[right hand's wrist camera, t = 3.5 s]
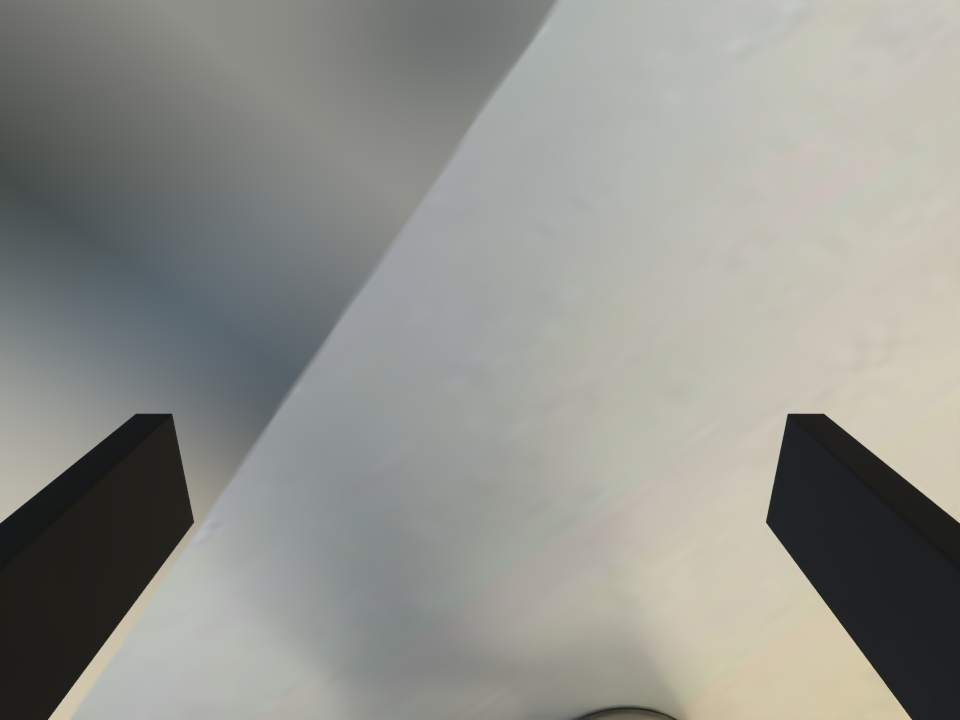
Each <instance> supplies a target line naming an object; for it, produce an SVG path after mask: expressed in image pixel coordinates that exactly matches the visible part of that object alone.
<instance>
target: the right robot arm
mask: <svg viewBox="0 0 960 720" xmlns="http://www.w3.org/2000/svg"><path fill="white" fill-rule="evenodd" d="M193 523H194V520H193V515H192V510H191V505H190V500H189V495H188V490H187V485H186V480H185V475H184V470H183V465H182V460H181V455H180V451H179V446H178V441H177V436H176V431H175V426H174V421H173V416H172V414H135V415H134V416H133V417H132V418H130V419H129V420H128V421H127V422H125V423H124V424H123V425H122V426H120V427H119V428H118V429H117V430H115V431H114V432H113V433H112V434H110V435H109V436H108V437H107V438H106V439H104V440H103V441H102V442H101V443H99V444H98V445H97V446H96V447H94V448H93V449H92V450H91V451H89V452H88V453H87V454H86V455H84V456H83V457H82V458H81V459H79V460H78V461H77V462H76V463H75V464H73V465H72V466H71V467H70V468H68V469H67V470H66V471H65V472H63V473H62V474H61V475H60V476H58V477H57V478H56V479H55V480H53V481H52V482H51V483H50V484H49V485H47V486H46V487H45V488H44V489H42V490H41V491H40V492H39V493H37V494H36V495H35V496H34V497H32V498H31V499H30V500H29V501H27V502H26V503H25V504H24V505H22V506H21V507H20V508H19V509H18V510H16V511H15V512H14V513H13V514H11V515H10V516H9V517H8V518H6V519H5V520H4V521H3V522H1V523H0V720H48V719H49V718H50V716H51V715H52V713H53V712H54V711H55V709H56V708H57V707H58V705H59V704H60V703H61V701H62V700H63V699H64V697H65V696H66V695H67V693H68V692H69V690H70V689H71V688H72V686H73V685H74V684H75V682H76V681H77V680H78V678H79V677H80V676H81V674H82V673H83V672H84V670H85V669H86V668H87V666H88V665H89V663H90V662H91V661H92V659H93V658H94V657H95V655H96V654H97V653H98V651H99V650H100V649H101V647H102V646H103V645H104V643H105V642H106V641H107V639H108V638H109V637H110V635H111V634H112V632H113V631H114V630H115V628H116V627H117V626H118V624H119V623H120V622H121V620H122V619H123V618H124V616H125V615H126V614H127V612H128V611H129V610H130V608H131V607H132V605H133V604H134V603H135V601H136V600H137V599H138V597H139V596H140V595H141V593H142V592H143V591H144V589H145V588H146V586H147V585H148V584H149V582H150V581H151V580H152V578H153V577H154V576H155V574H156V573H157V572H158V570H159V569H160V568H161V566H162V565H163V564H164V562H165V561H166V559H167V558H168V557H169V555H170V554H171V553H172V551H173V550H174V549H175V547H176V546H177V545H178V543H179V542H180V541H181V539H182V538H183V537H184V535H185V534H186V532H187V531H188V530H189V528H190V527H191V526H192V524H193ZM766 523H767V524H768V526H769V527H770V528H771V530H772V531H773V533H774V534H775V535H776V537H777V538H778V539H779V541H780V542H781V543H782V545H783V546H784V547H785V549H786V550H787V551H788V553H789V554H790V555H791V557H792V558H793V560H794V561H795V562H796V564H797V565H798V566H799V568H800V569H801V570H802V572H803V573H804V574H805V576H806V577H807V578H808V580H809V581H810V583H811V584H812V585H813V587H814V588H815V589H816V591H817V592H818V593H819V595H820V596H821V597H822V599H823V600H824V601H825V603H826V604H827V605H828V607H829V608H830V610H831V611H832V612H833V614H834V615H835V616H836V618H837V619H838V620H839V622H840V623H841V624H842V626H843V627H844V628H845V630H846V631H847V632H848V634H849V635H850V637H851V638H852V639H853V641H854V642H855V643H856V645H857V646H858V647H859V649H860V650H861V651H862V653H863V654H864V655H865V657H866V658H867V659H868V661H869V662H870V664H871V665H872V666H873V668H874V669H875V670H876V672H877V673H878V674H879V676H880V677H881V678H882V680H883V681H884V682H885V684H886V685H887V686H888V688H889V689H890V691H891V692H892V693H893V695H894V696H895V697H896V699H897V700H898V701H899V703H900V704H901V705H902V707H903V708H904V709H905V711H906V712H907V713H908V715H909V716H910V718H911V719H912V720H960V523H959V522H957V521H956V520H955V519H954V518H952V517H951V516H950V515H949V514H947V513H946V512H945V511H944V510H942V509H941V508H940V507H939V506H938V505H936V504H935V503H934V502H933V501H931V500H930V499H929V498H928V497H926V496H925V495H924V494H923V493H921V492H920V491H919V490H918V489H916V488H915V487H914V486H913V485H911V484H910V483H909V482H908V481H907V480H905V479H904V478H903V477H902V476H900V475H899V474H898V473H897V472H895V471H894V470H893V469H892V468H890V467H889V466H888V465H887V464H885V463H884V462H883V461H882V460H881V459H879V458H878V457H877V456H876V455H874V454H873V453H872V452H871V451H869V450H868V449H867V448H866V447H864V446H863V445H862V444H861V443H859V442H858V441H857V440H856V439H854V438H853V437H852V436H851V435H850V434H848V433H847V432H846V431H845V430H843V429H842V428H841V427H840V426H838V425H837V424H836V423H835V422H833V421H832V420H831V419H830V418H828V417H827V416H826V415H825V414H788V416H787V421H786V426H785V431H784V436H783V441H782V446H781V451H780V455H779V460H778V465H777V470H776V475H775V480H774V485H773V490H772V495H771V500H770V505H769V510H768V515H767V520H766ZM580 720H673V719H671V718H669V717H667V716H664V715H662V714H659V713H655V712H651V711H646V710H637V709H618V710H610V711H604V712H600V713H596V714H593V715H590V716H587V717H584V718H582V719H580Z"/></svg>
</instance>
